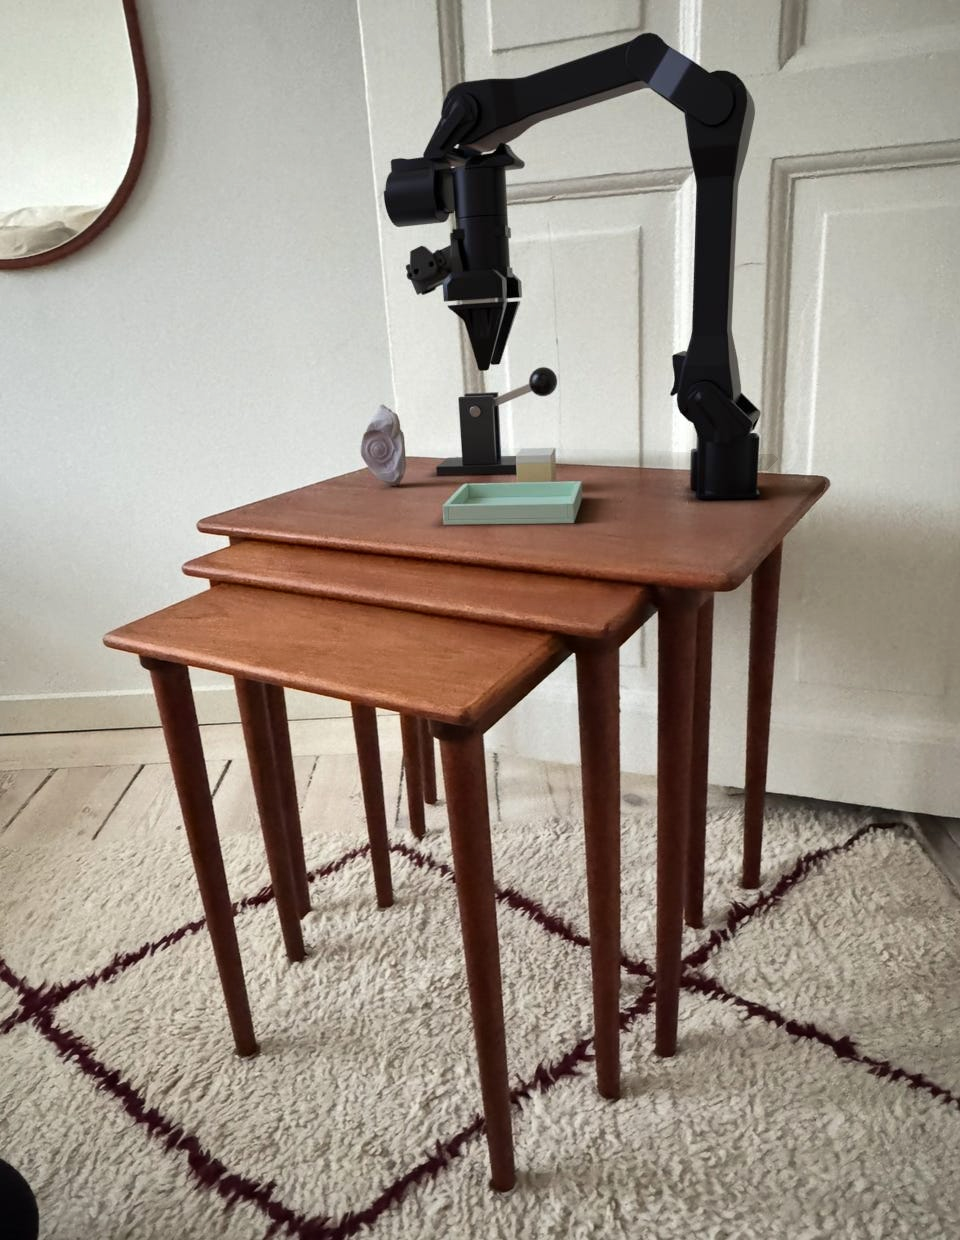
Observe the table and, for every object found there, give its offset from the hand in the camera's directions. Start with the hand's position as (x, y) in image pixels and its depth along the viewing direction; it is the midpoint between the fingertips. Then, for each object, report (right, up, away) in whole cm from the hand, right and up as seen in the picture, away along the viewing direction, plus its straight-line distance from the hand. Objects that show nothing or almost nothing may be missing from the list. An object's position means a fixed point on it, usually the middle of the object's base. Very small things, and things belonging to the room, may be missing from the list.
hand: (489, 367), depth 102 cm
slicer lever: (+4, -1, +13) cm, 14 cm away
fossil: (-13, -12, +10) cm, 20 cm away
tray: (+3, -17, -8) cm, 19 cm away
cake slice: (+6, -14, +2) cm, 15 cm away
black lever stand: (-1, -9, +17) cm, 19 cm away
